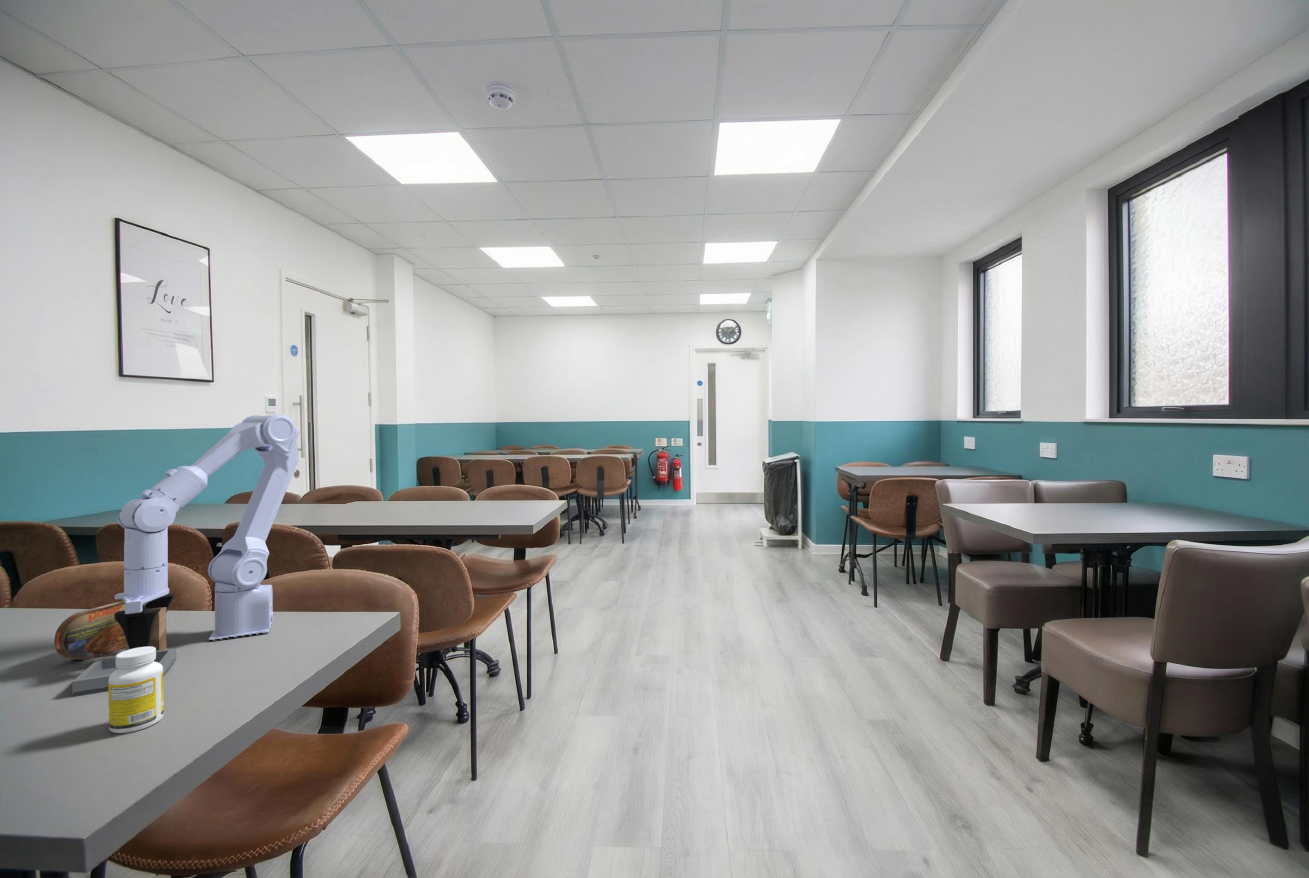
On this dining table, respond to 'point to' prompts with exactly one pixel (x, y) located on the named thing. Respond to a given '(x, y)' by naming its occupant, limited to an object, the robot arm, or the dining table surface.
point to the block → (157, 632)
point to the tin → (90, 633)
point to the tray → (102, 668)
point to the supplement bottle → (135, 691)
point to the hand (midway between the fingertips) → (146, 643)
